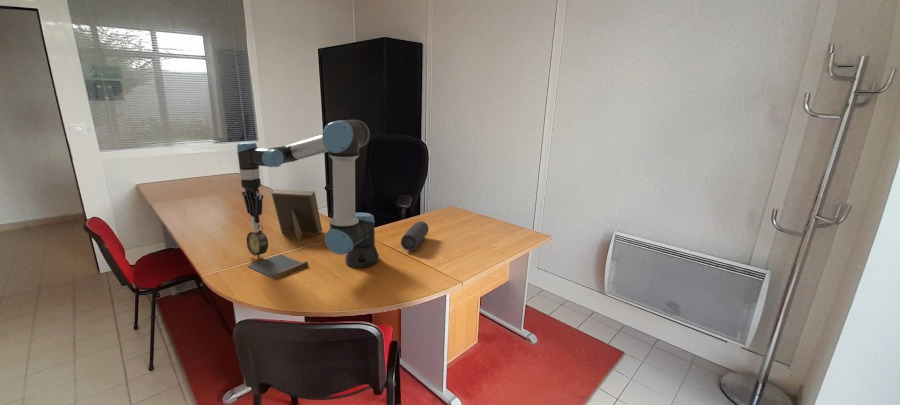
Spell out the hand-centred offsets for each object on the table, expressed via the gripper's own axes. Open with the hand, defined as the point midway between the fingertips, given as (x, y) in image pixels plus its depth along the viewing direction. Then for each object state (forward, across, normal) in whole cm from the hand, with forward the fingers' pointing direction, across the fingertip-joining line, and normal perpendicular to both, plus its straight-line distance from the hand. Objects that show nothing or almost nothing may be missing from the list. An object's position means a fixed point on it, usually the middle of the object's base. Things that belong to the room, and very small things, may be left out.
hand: (256, 229), depth 168 cm
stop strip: (+15, -24, 0) cm, 28 cm away
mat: (+15, -14, 0) cm, 20 cm away
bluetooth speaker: (+15, -47, -57) cm, 75 cm away
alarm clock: (+13, +3, 0) cm, 13 cm away
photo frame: (+15, +13, -29) cm, 35 cm away
